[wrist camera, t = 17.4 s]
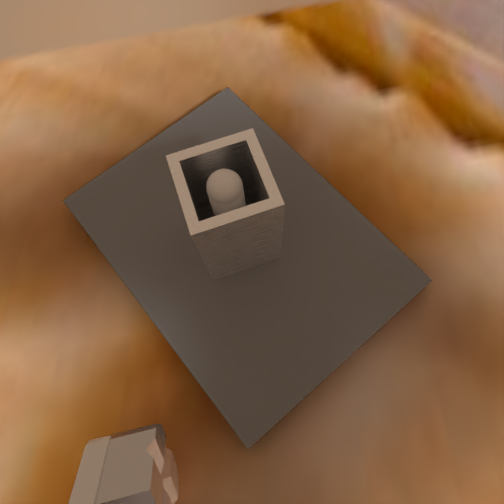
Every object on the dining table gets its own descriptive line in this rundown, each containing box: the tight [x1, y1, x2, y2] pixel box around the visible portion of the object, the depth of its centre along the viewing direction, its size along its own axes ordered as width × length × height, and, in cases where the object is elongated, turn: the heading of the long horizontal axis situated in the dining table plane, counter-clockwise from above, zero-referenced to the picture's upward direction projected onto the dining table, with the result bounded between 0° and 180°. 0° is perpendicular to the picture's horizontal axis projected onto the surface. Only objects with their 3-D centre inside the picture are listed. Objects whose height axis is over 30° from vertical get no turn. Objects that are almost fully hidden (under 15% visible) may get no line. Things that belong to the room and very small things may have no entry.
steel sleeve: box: [166, 128, 285, 280], centre depth 25 cm, size 5×5×8 cm
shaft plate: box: [63, 87, 432, 449], centre depth 25 cm, size 22×16×10 cm
